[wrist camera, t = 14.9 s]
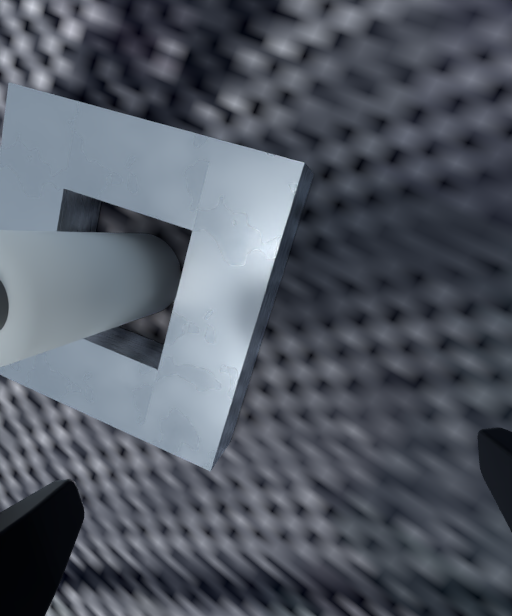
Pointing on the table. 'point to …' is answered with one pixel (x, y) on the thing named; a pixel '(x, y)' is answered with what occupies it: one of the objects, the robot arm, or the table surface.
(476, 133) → the table surface
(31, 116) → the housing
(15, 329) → the plug
